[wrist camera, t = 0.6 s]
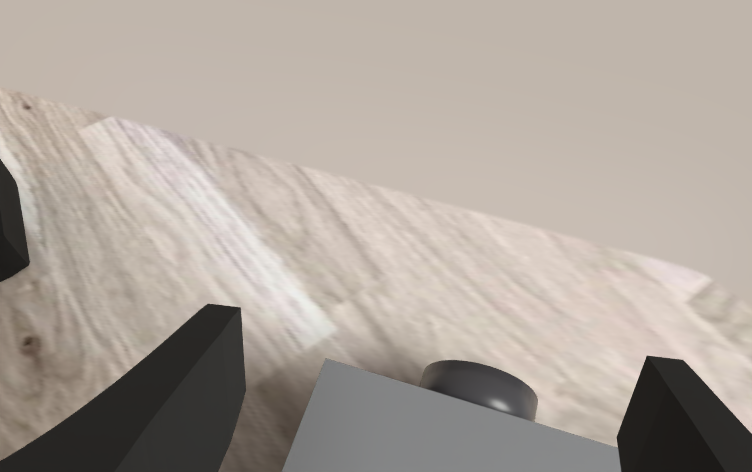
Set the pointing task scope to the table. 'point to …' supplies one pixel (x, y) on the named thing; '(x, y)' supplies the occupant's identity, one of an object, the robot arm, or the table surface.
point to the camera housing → (434, 425)
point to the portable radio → (11, 228)
